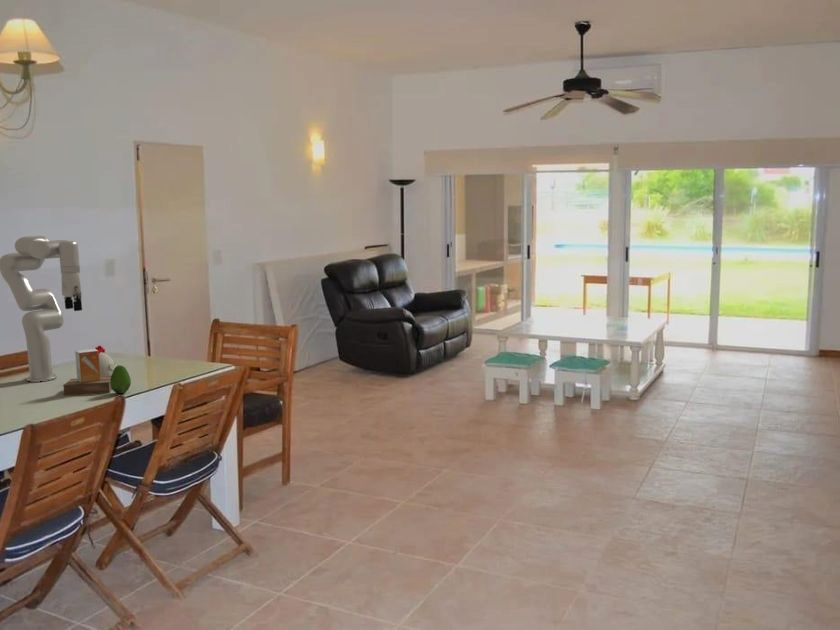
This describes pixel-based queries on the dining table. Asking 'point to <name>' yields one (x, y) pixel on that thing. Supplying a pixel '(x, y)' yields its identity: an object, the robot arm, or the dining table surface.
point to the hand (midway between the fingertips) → (73, 309)
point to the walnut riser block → (87, 387)
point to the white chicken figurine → (105, 363)
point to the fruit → (120, 380)
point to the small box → (87, 365)
